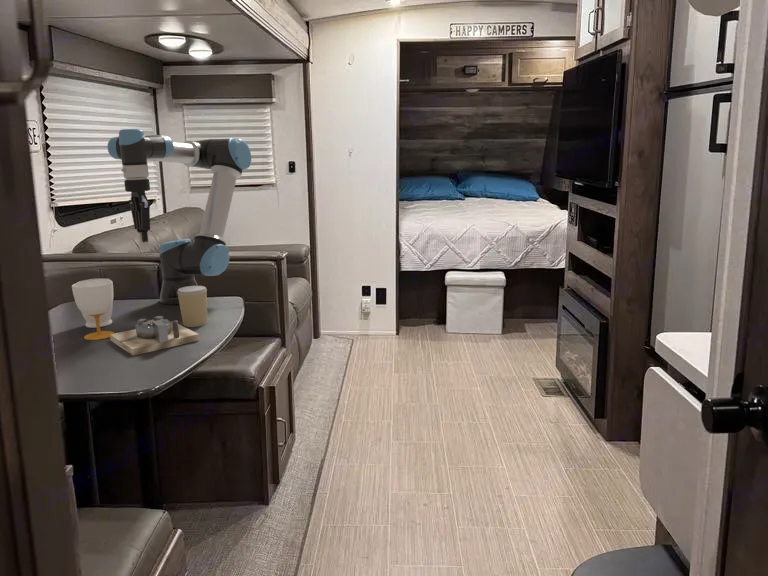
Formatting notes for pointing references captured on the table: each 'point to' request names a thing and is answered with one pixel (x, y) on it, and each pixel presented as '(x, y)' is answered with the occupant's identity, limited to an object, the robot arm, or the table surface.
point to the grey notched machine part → (154, 328)
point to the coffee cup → (193, 305)
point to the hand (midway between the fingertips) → (145, 251)
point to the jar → (103, 318)
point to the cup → (94, 302)
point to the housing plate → (153, 340)
